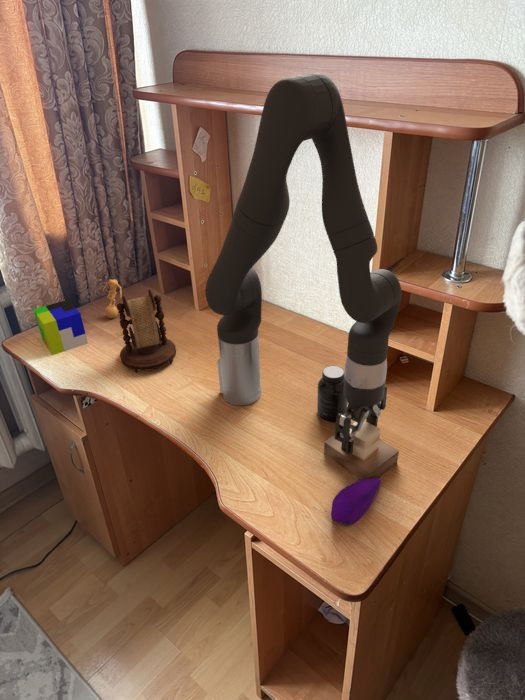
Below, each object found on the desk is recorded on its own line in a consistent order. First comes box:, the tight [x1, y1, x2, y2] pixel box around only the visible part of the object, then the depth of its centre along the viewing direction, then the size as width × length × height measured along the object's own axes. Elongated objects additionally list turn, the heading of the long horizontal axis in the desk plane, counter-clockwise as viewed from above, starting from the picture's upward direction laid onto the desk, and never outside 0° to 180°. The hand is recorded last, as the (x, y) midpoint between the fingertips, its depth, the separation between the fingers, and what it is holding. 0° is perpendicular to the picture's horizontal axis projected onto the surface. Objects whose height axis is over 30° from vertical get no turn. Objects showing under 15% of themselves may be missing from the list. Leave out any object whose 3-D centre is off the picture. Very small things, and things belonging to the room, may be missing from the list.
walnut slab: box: [323, 421, 400, 481], centre depth 111 cm, size 12×9×4 cm
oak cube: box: [349, 420, 381, 461], centre depth 108 cm, size 5×5×5 cm
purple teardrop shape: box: [330, 478, 382, 526], centre depth 101 cm, size 5×5×15 cm
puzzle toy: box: [33, 298, 89, 356], centre depth 152 cm, size 10×10×10 cm
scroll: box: [116, 288, 177, 374], centre depth 140 cm, size 15×15×20 cm
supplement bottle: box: [316, 365, 348, 423], centre depth 121 cm, size 7×7×12 cm
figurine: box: [102, 279, 123, 319], centre depth 162 cm, size 8×6×12 cm
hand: (359, 440), depth 108 cm, fingers open, 8 cm apart
